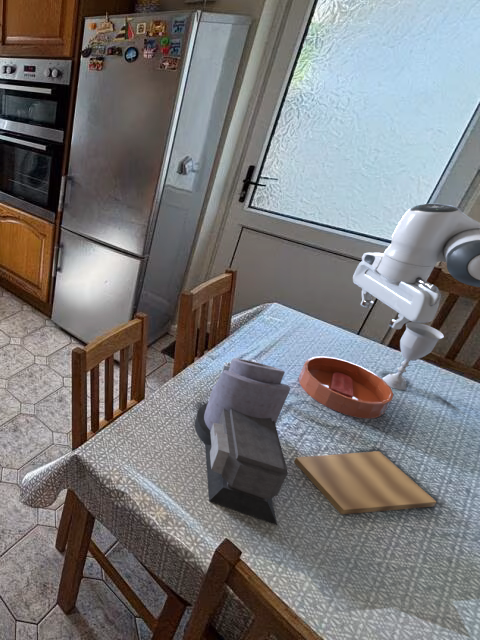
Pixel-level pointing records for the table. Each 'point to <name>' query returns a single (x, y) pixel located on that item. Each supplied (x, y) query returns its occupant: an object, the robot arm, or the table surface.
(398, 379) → the chalice
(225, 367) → the lighter
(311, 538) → the table surface
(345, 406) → the terracotta plant saucer
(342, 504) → the board
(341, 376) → the popsicle
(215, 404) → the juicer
